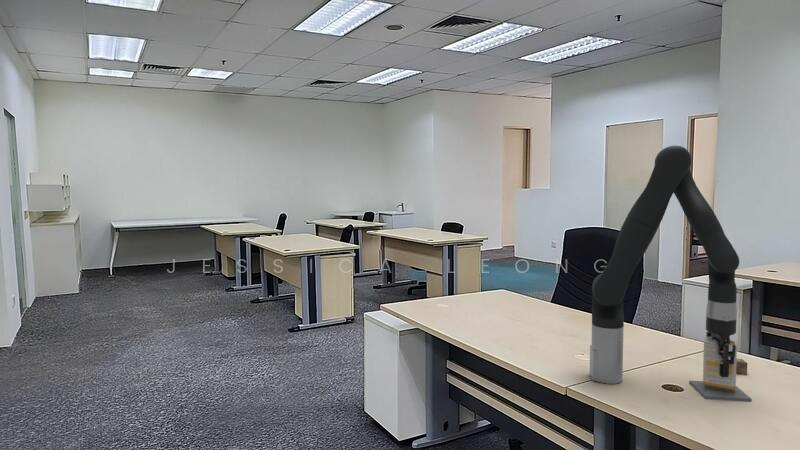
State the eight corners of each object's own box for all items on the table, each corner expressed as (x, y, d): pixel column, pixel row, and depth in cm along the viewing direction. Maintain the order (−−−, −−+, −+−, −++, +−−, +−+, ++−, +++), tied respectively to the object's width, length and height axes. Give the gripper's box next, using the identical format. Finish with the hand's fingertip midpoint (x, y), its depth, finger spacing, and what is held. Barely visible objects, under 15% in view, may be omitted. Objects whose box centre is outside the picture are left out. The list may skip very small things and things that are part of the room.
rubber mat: (704, 398, 148) (704, 396, 148) (689, 383, 160) (689, 380, 160) (751, 401, 146) (751, 398, 146) (731, 385, 158) (732, 382, 158)
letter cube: (733, 374, 167) (733, 361, 166) (727, 370, 171) (728, 357, 170) (746, 375, 166) (747, 362, 166) (741, 370, 170) (741, 357, 170)
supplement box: (735, 384, 153) (737, 340, 152) (735, 390, 149) (737, 345, 148) (702, 379, 157) (704, 336, 156) (702, 384, 153) (703, 340, 152)
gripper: (697, 309, 159) (695, 363, 160) (717, 322, 145) (715, 380, 146) (724, 310, 158) (722, 364, 159) (747, 323, 144) (744, 382, 145)
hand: (719, 372), depth 153 cm, fingers closed on supplement box, 6 cm apart
